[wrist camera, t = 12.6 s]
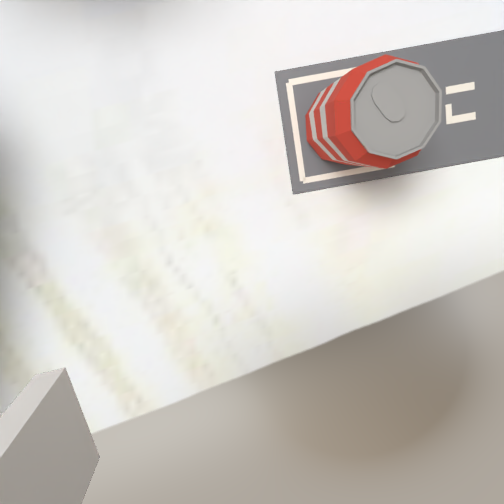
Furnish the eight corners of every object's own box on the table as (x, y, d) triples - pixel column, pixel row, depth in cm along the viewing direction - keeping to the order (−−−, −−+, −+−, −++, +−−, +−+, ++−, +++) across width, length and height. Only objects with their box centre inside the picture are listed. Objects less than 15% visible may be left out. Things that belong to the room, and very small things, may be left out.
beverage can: (345, 68, 33) (407, 21, 21) (391, 130, 34) (474, 118, 22) (288, 120, 33) (317, 102, 22) (335, 178, 35) (386, 191, 23)
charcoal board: (292, 194, 35) (293, 194, 35) (274, 72, 33) (274, 71, 32) (518, 153, 35) (520, 153, 35) (517, 28, 33) (519, 27, 32)
